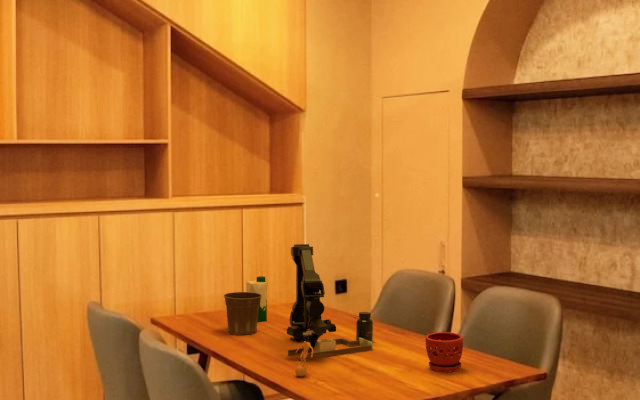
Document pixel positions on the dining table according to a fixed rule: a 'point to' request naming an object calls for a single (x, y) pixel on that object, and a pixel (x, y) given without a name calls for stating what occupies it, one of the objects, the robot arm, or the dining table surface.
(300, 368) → the figurine
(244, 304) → the plant pot
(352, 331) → the dining table surface
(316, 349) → the cream block
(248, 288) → the milk carton
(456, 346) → the plant pot
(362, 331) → the supplement bottle
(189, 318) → the dining table surface
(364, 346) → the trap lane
